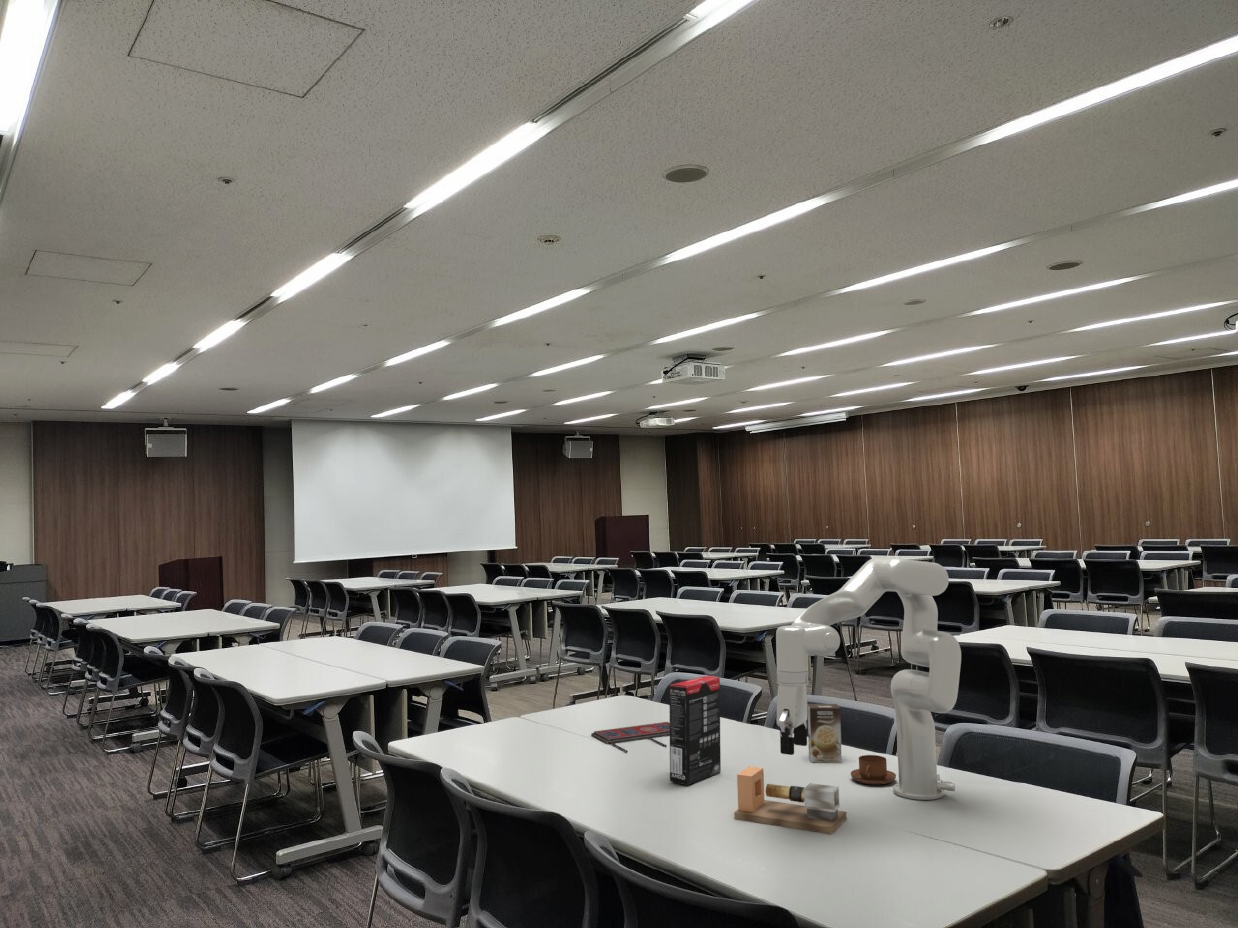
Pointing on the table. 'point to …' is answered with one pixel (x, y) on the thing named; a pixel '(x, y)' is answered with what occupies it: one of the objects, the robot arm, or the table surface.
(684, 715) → the graphics card box
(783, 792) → the brass tube
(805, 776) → the table surface
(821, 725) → the coffee box
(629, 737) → the sign
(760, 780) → the socket
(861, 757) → the cup and saucer
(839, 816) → the rig
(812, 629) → the robot arm
